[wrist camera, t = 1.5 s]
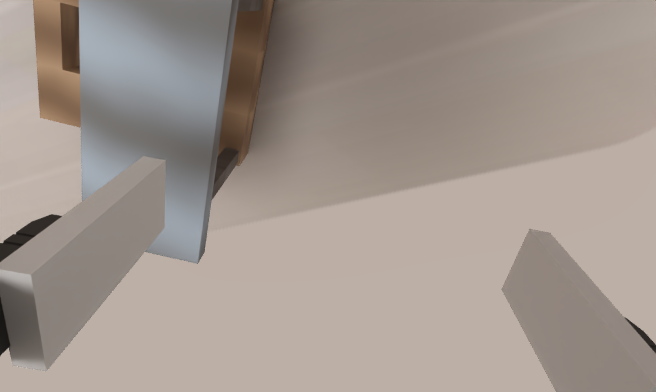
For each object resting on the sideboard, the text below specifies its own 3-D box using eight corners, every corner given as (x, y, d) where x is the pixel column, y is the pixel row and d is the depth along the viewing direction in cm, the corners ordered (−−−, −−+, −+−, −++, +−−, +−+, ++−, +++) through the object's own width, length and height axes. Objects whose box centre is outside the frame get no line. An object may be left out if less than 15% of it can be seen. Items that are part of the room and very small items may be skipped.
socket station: (60, -75, 31) (-223, -153, 16) (288, -12, 32) (235, -28, 17) (66, 113, 38) (-132, 189, 22) (257, 160, 39) (197, 263, 23)
